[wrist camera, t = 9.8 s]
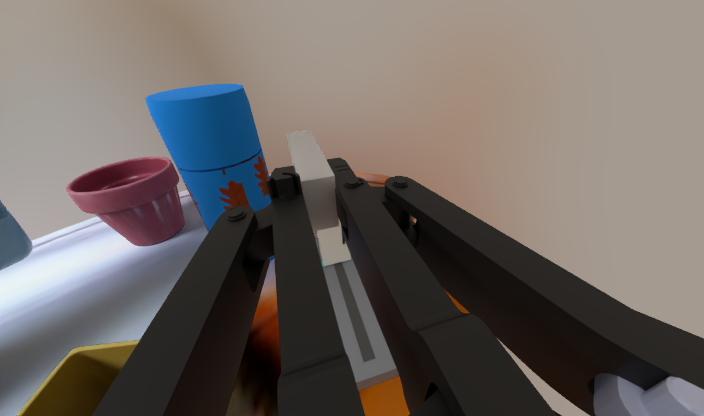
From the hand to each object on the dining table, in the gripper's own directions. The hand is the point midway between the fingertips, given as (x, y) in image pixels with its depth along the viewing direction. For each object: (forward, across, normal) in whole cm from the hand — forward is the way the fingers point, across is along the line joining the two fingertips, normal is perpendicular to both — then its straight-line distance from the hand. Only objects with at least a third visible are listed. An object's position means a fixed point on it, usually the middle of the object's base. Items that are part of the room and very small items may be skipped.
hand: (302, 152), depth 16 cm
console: (+5, +3, -23) cm, 24 cm away
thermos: (+20, -9, -24) cm, 33 cm away
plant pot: (+32, -28, -24) cm, 49 cm away
